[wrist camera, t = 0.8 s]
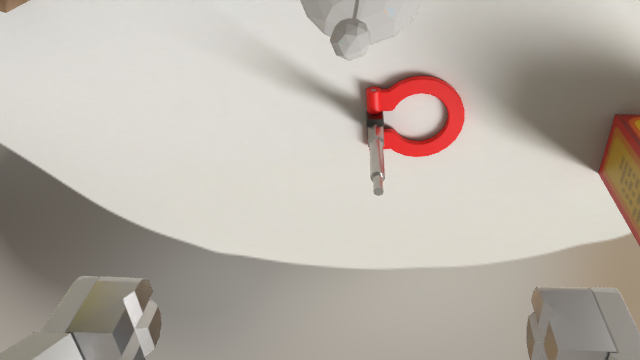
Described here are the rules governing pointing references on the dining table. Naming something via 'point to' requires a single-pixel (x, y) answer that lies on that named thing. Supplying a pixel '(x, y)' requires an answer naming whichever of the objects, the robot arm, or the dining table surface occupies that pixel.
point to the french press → (359, 22)
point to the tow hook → (391, 139)
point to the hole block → (10, 4)
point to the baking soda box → (624, 169)
